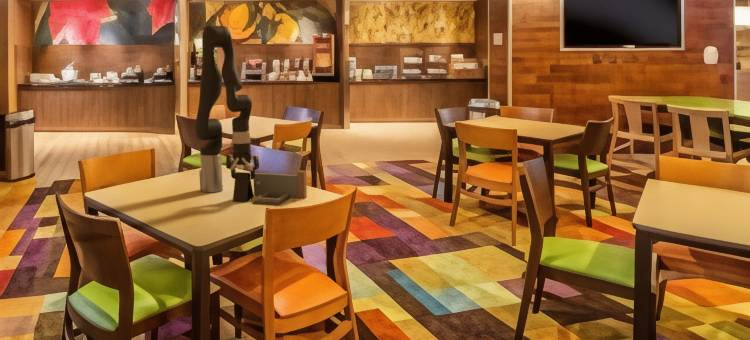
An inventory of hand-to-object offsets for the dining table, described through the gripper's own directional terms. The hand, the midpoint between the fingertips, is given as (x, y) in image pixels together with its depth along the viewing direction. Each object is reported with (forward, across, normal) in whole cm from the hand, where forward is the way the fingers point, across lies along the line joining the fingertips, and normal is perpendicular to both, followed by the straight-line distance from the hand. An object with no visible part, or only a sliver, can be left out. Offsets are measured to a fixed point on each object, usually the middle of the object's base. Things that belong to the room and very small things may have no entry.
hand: (243, 178), depth 269 cm
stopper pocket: (+10, +12, +1) cm, 16 cm away
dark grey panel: (+10, +13, +9) cm, 18 cm away
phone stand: (+10, -1, 0) cm, 10 cm away
